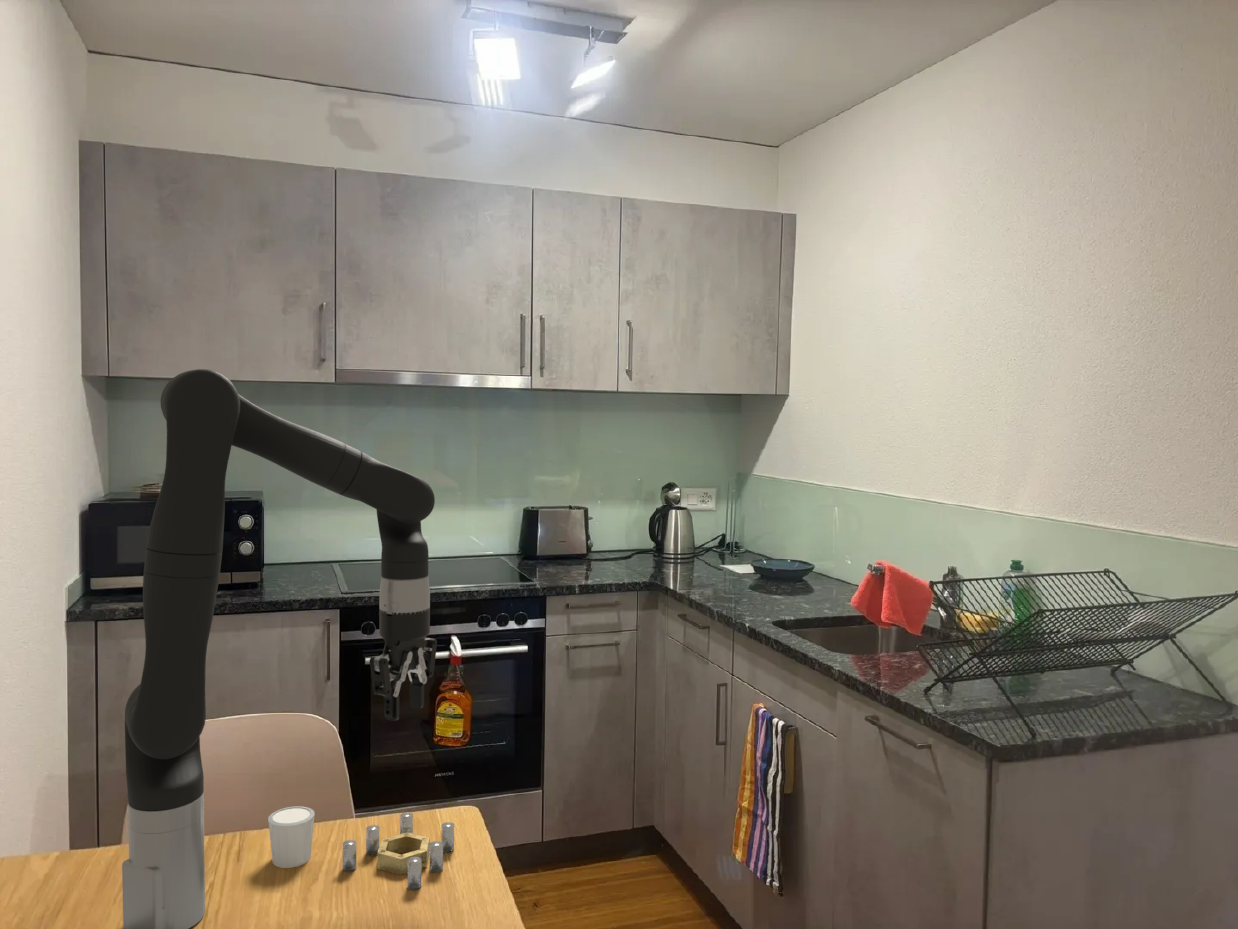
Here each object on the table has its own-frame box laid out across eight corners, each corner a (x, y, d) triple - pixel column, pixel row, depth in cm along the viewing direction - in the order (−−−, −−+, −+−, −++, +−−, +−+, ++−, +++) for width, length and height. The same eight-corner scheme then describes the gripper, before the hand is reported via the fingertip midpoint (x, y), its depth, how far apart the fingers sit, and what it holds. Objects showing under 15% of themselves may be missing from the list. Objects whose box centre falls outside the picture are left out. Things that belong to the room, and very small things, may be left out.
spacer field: (415, 891, 133) (416, 864, 133) (339, 870, 139) (339, 844, 139) (467, 850, 146) (467, 826, 145) (395, 832, 151) (395, 809, 151)
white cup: (299, 872, 138) (299, 827, 138) (258, 867, 139) (258, 822, 139) (323, 851, 145) (323, 808, 144) (284, 846, 146) (283, 803, 146)
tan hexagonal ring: (412, 878, 137) (412, 862, 137) (366, 865, 140) (366, 850, 140) (440, 856, 144) (440, 840, 144) (396, 844, 147) (396, 829, 147)
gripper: (413, 594, 148) (412, 696, 149) (353, 612, 134) (353, 724, 135) (452, 598, 145) (451, 703, 146) (395, 617, 131) (395, 732, 132)
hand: (404, 713), depth 141 cm, fingers open, 5 cm apart
